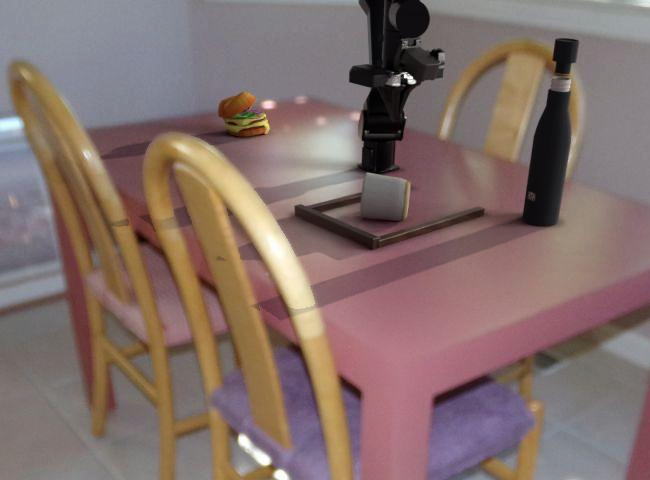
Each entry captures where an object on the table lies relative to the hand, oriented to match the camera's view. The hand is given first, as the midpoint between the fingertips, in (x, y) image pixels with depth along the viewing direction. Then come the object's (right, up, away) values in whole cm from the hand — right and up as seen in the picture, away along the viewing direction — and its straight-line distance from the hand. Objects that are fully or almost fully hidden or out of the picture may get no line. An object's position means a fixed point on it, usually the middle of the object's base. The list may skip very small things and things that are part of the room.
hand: (395, 121), depth 147 cm
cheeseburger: (-35, +10, +39) cm, 53 cm away
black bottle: (+26, -19, -4) cm, 32 cm away
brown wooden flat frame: (-1, -18, -5) cm, 19 cm away
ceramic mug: (-2, -19, -6) cm, 20 cm away
